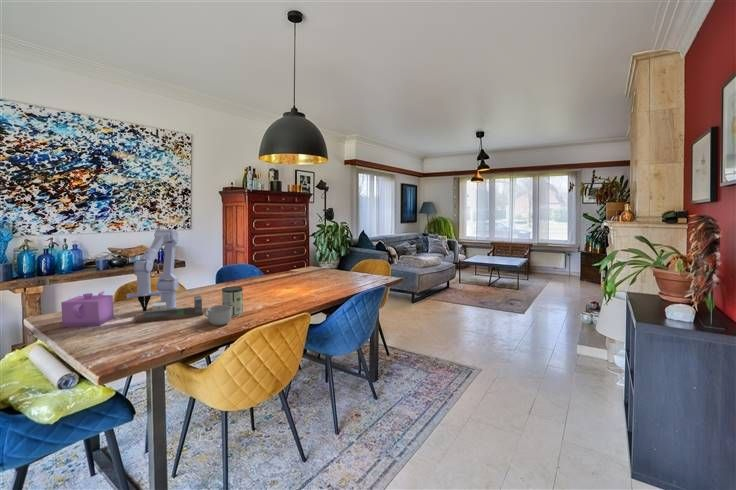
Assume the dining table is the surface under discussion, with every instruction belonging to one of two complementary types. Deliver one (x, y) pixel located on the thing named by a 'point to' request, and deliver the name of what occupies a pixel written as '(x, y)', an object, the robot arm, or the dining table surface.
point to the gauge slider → (158, 306)
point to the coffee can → (233, 299)
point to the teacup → (218, 314)
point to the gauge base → (172, 312)
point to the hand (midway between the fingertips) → (144, 310)
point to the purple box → (87, 310)
